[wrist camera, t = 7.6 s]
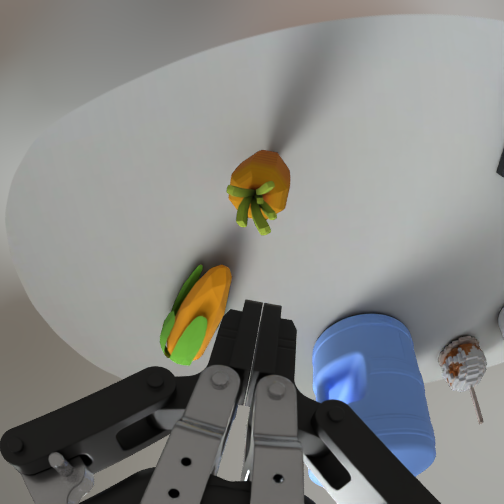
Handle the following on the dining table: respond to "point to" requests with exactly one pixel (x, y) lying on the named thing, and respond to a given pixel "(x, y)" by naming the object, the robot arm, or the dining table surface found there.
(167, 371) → the robot arm
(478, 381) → the caramel apple
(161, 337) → the corn
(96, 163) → the dining table surface
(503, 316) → the cup
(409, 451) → the water jug
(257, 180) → the carrot
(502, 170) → the scale
